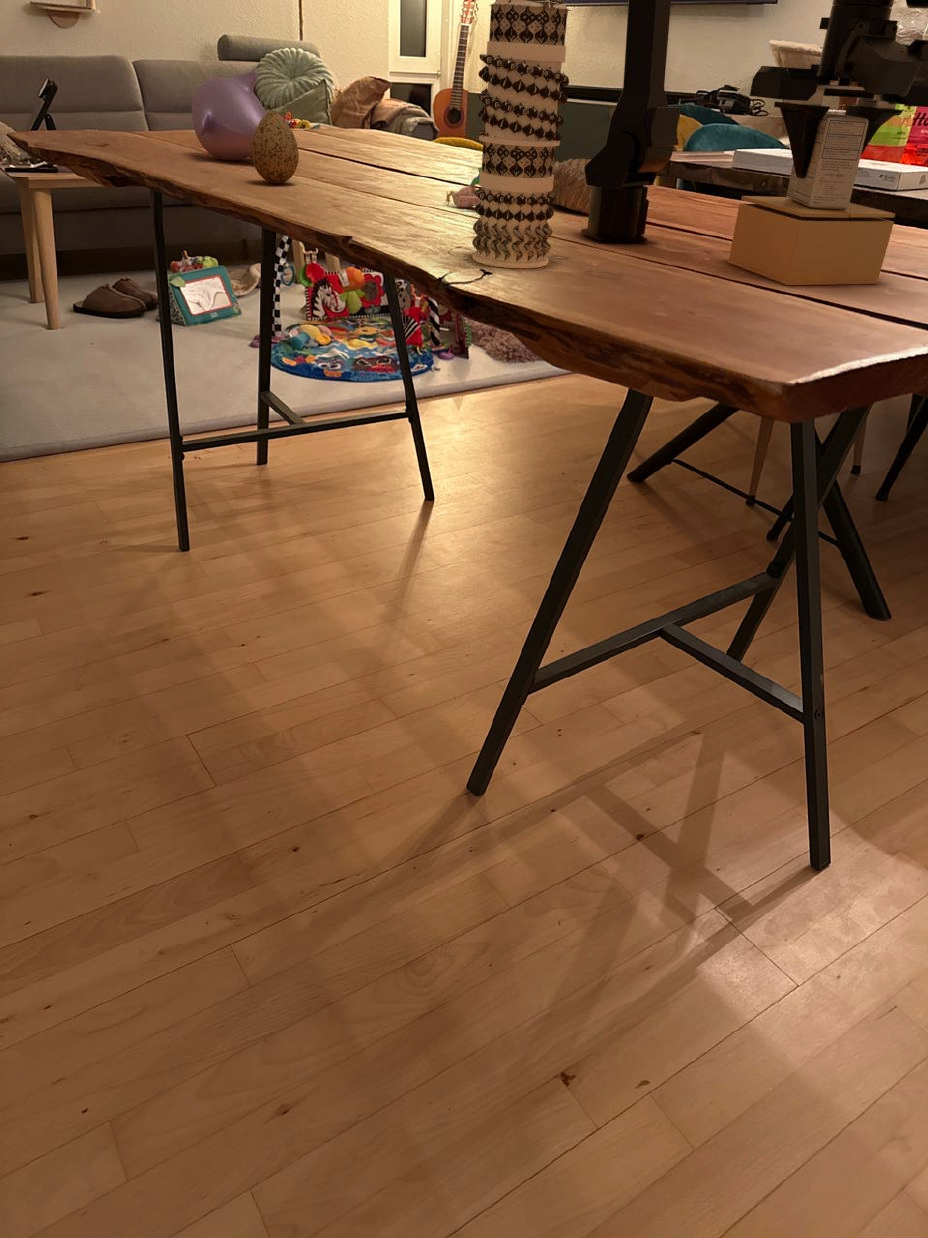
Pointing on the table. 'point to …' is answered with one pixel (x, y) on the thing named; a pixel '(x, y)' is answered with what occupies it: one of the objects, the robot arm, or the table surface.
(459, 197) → the pink radish
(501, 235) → the bracelet display stand
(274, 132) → the decorative egg
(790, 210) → the flap
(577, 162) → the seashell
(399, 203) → the table surface
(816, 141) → the medicine box
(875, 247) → the carton
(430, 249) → the table surface
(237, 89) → the toy whale
